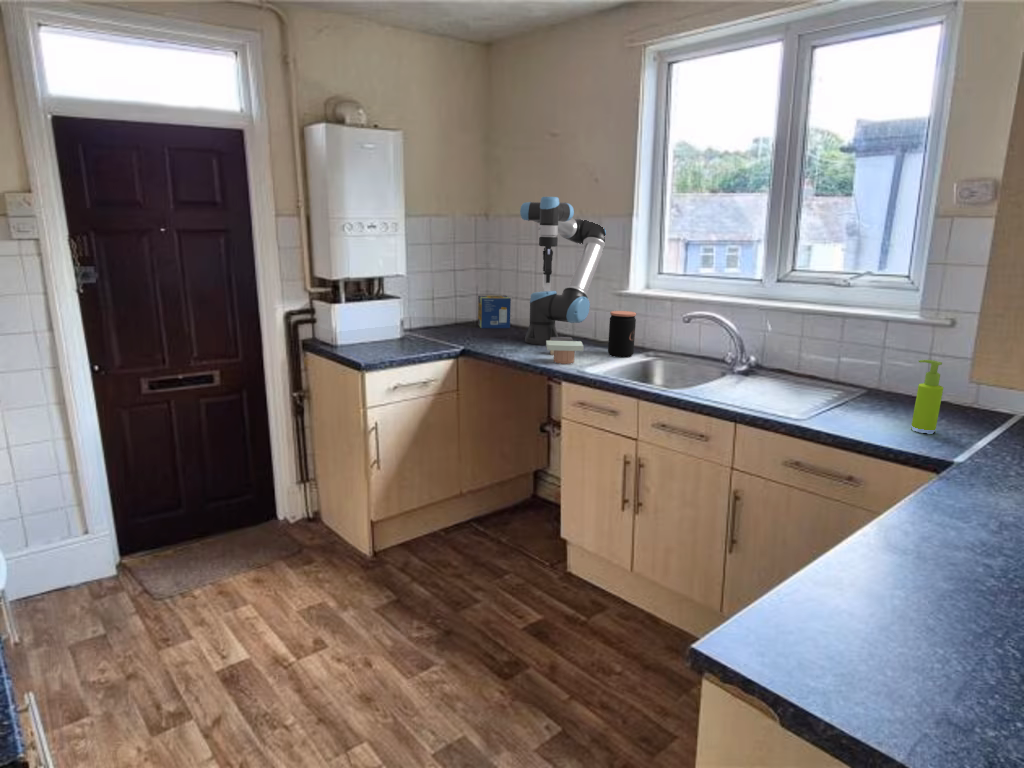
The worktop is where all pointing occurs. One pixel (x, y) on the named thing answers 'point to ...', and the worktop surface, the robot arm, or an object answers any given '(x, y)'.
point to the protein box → (494, 311)
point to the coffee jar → (621, 333)
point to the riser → (559, 340)
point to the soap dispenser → (928, 399)
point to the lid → (565, 345)
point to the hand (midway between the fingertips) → (546, 289)
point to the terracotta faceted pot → (564, 357)
